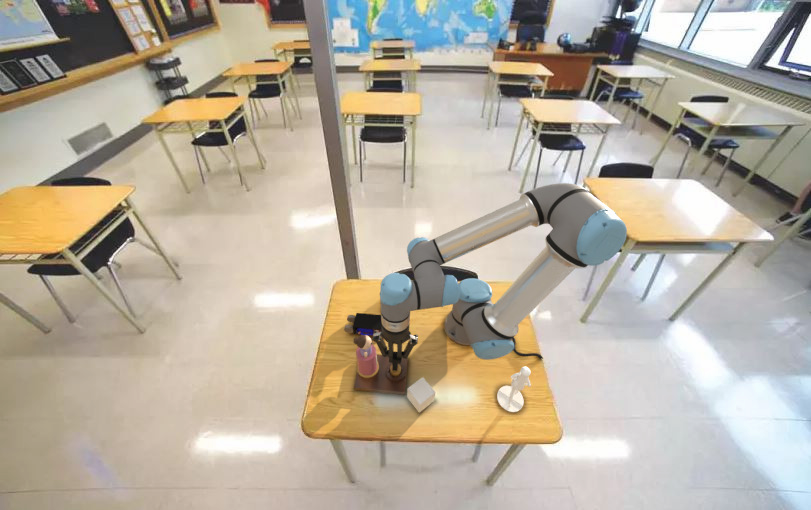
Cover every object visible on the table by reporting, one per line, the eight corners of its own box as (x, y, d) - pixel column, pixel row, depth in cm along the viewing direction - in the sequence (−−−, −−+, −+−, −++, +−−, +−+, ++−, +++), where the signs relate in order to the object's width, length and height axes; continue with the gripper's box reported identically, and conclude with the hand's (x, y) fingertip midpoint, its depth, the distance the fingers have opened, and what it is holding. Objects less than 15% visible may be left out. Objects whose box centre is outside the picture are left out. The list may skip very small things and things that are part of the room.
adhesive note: (407, 397, 99) (407, 388, 95) (421, 385, 102) (422, 376, 98) (419, 413, 96) (420, 404, 92) (434, 400, 98) (435, 392, 94)
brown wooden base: (407, 360, 108) (408, 354, 106) (404, 395, 99) (404, 390, 97) (361, 355, 109) (360, 350, 107) (354, 390, 100) (353, 385, 98)
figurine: (522, 389, 101) (539, 360, 89) (523, 415, 96) (542, 387, 84) (497, 384, 103) (510, 354, 91) (496, 408, 97) (511, 380, 85)
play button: (401, 366, 103) (401, 363, 102) (400, 377, 101) (400, 374, 99) (390, 365, 103) (390, 362, 102) (389, 376, 101) (389, 373, 100)
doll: (356, 378, 99) (351, 349, 88) (357, 358, 104) (352, 328, 93) (379, 377, 100) (376, 347, 88) (378, 356, 105) (376, 326, 94)
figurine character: (346, 339, 116) (386, 341, 113) (341, 327, 111) (383, 328, 108) (350, 324, 121) (389, 325, 118) (346, 311, 116) (386, 312, 113)
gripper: (368, 331, 82) (372, 375, 98) (419, 335, 81) (415, 379, 97) (373, 308, 87) (376, 353, 103) (420, 312, 87) (416, 357, 102)
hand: (395, 366), depth 100 cm, fingers closed
